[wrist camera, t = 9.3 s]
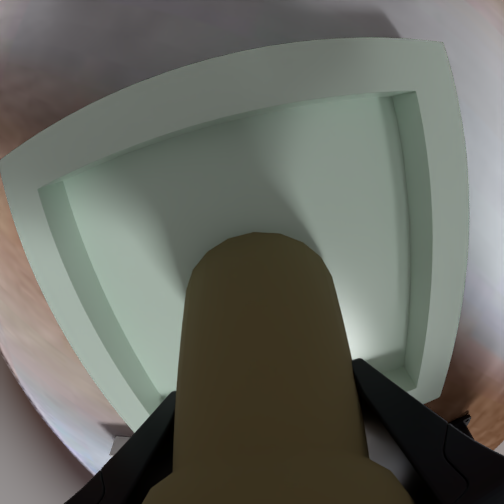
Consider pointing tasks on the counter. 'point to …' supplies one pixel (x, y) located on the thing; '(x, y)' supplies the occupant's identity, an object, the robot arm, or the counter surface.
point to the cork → (268, 386)
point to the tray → (254, 203)
